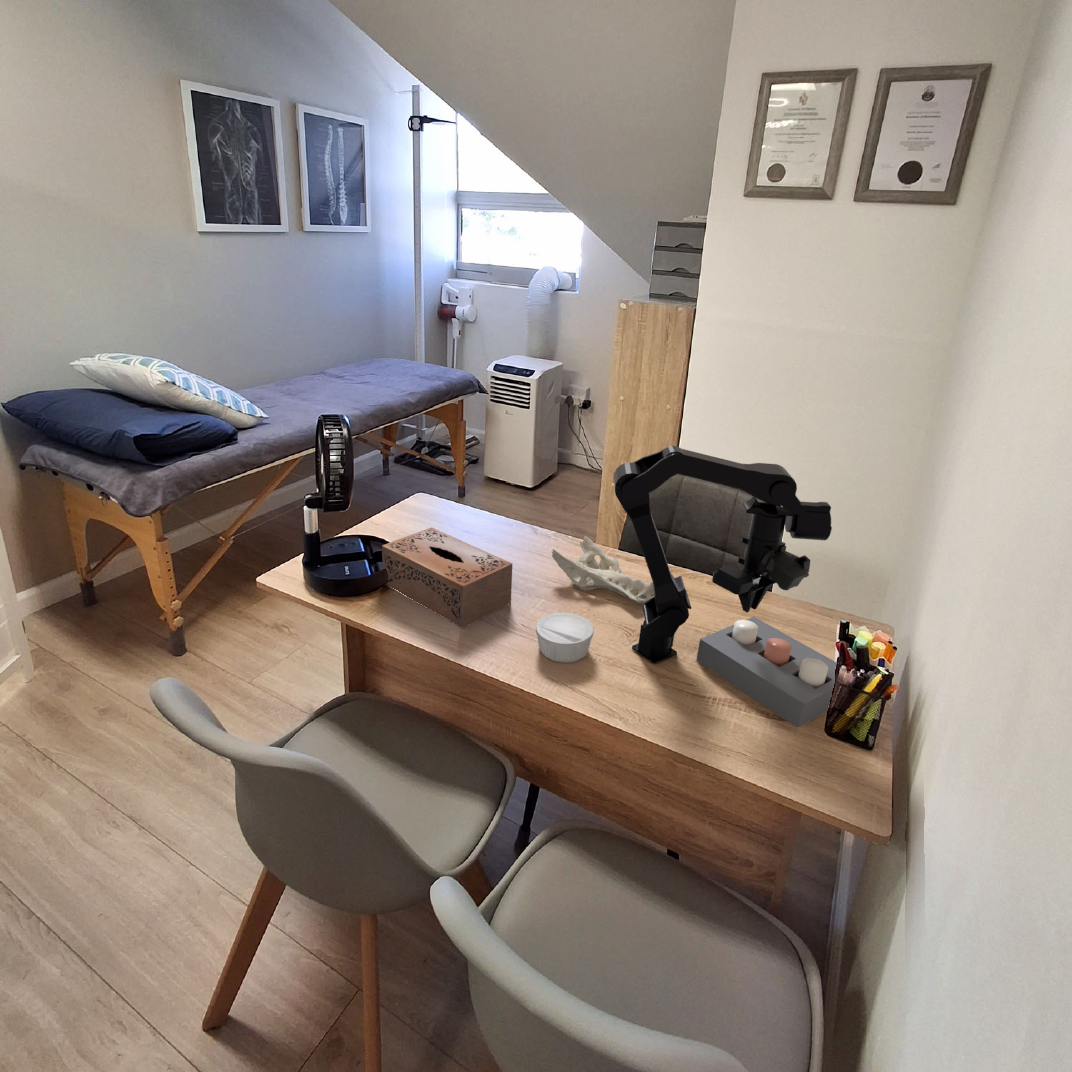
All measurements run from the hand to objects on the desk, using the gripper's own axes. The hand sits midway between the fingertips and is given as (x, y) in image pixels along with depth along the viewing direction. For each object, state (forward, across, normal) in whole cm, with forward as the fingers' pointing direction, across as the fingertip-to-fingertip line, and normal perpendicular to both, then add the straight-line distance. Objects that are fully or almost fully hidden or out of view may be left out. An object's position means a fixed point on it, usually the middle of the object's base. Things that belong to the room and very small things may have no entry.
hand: (749, 609), depth 129 cm
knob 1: (+8, 0, 0) cm, 8 cm away
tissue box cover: (+12, -37, +52) cm, 64 cm away
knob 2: (+8, 0, -15) cm, 17 cm away
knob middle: (+8, 0, -7) cm, 11 cm away
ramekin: (+11, -28, +20) cm, 37 cm away
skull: (+11, -4, +36) cm, 37 cm away
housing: (+11, 0, -8) cm, 13 cm away
